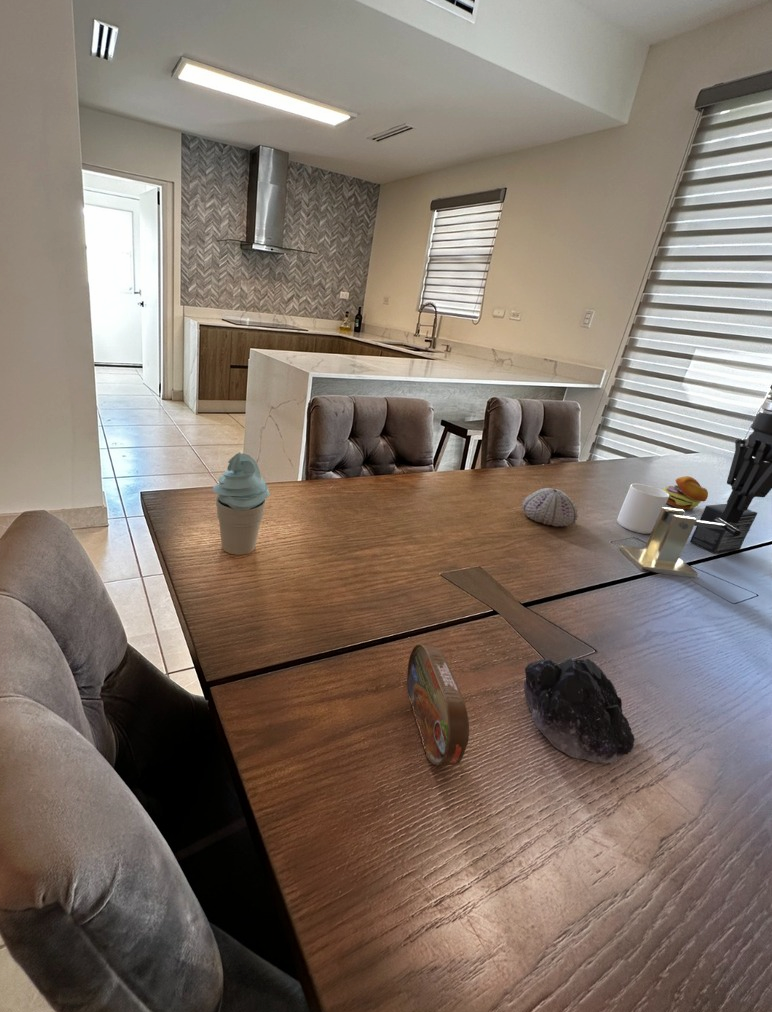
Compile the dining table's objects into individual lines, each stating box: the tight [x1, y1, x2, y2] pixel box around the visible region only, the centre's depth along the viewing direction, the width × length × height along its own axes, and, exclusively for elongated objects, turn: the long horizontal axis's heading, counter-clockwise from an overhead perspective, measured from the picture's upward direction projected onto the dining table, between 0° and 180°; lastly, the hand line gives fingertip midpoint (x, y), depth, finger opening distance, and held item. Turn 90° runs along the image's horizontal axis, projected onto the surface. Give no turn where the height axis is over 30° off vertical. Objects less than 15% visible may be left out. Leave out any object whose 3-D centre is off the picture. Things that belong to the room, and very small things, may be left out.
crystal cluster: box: [523, 657, 635, 764], centre depth 60 cm, size 13×14×10 cm
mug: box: [617, 483, 669, 535], centre depth 124 cm, size 9×12×11 cm
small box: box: [689, 503, 758, 555], centre depth 117 cm, size 11×6×10 cm, turn 111°
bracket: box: [619, 506, 699, 579], centre depth 104 cm, size 12×9×13 cm
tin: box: [406, 644, 470, 766], centre depth 57 cm, size 15×3×8 cm, turn 4°
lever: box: [665, 513, 741, 536], centre depth 102 cm, size 13×6×2 cm, turn 86°
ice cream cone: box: [212, 451, 271, 556], centre depth 89 cm, size 10×11×20 cm
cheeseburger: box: [661, 475, 709, 510], centre depth 143 cm, size 10×11×10 cm
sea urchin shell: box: [521, 487, 579, 527], centre depth 121 cm, size 13×14×8 cm
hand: (728, 520), depth 101 cm, fingers closed
